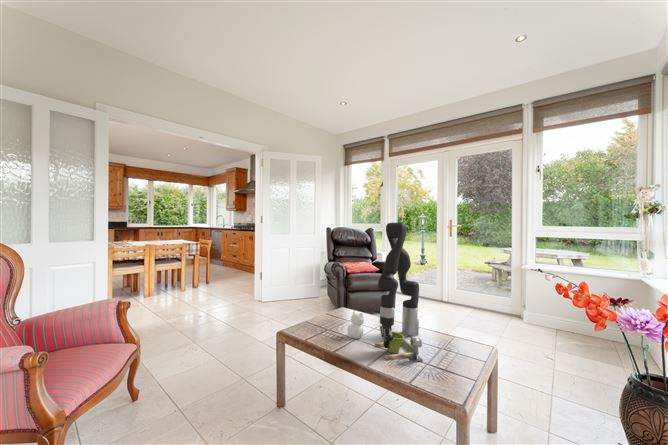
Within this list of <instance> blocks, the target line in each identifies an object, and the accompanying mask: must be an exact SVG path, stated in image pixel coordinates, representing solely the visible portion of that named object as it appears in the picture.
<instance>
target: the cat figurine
mask: <svg viewBox="0 0 668 445" xmlns="http://www.w3.org/2000/svg"><path fill="white" fill-rule="evenodd" d="M350 321H351V323H349V324H348V326H347V335H348V337H349V338H350V339H354V340H359V339H360V338H361V337H362V336H363V335H364V327H363V326H362V325H363V324H364V322H365V320H364V315H363V312H358V311H356V310H353V312H352V315H351V316H350Z"/></svg>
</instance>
